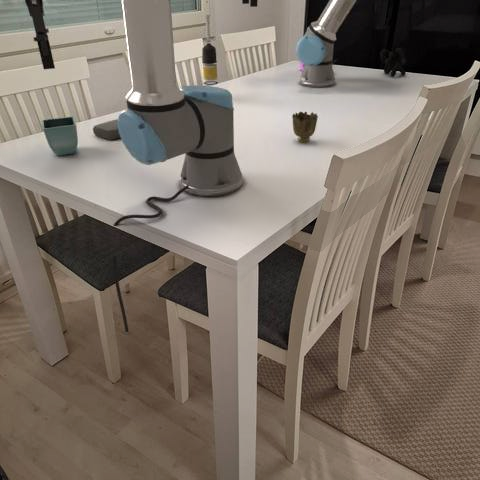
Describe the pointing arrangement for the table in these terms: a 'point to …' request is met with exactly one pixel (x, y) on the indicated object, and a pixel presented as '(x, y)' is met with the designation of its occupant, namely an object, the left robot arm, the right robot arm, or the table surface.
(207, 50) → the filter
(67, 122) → the teal square planter
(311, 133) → the cup
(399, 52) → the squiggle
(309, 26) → the right robot arm
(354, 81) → the table surface
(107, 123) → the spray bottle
